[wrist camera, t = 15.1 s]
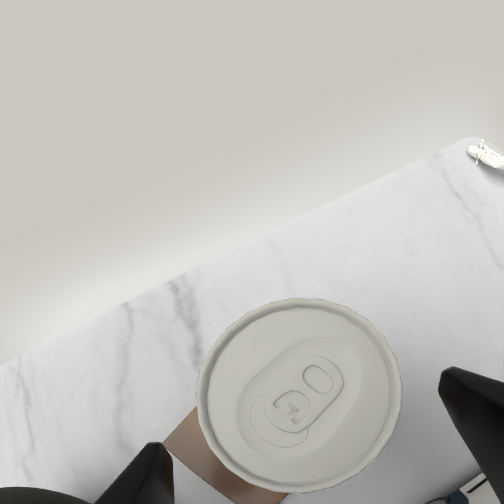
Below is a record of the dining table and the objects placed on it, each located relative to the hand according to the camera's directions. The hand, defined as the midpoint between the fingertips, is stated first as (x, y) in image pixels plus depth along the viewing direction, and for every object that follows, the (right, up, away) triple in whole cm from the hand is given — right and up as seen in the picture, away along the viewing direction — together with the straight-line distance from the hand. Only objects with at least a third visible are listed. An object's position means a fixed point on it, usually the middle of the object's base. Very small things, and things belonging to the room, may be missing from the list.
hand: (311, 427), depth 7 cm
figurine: (+32, +13, +11) cm, 36 cm away
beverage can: (0, -4, +9) cm, 10 cm away
